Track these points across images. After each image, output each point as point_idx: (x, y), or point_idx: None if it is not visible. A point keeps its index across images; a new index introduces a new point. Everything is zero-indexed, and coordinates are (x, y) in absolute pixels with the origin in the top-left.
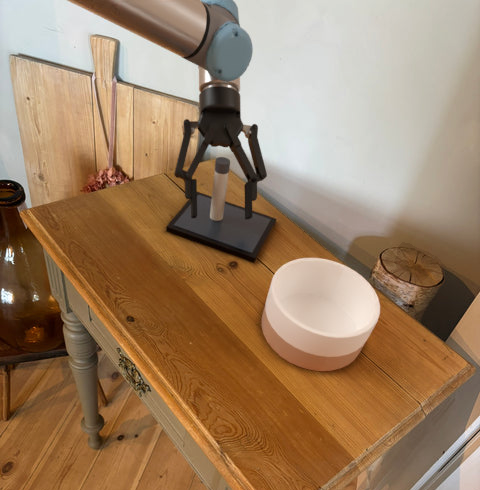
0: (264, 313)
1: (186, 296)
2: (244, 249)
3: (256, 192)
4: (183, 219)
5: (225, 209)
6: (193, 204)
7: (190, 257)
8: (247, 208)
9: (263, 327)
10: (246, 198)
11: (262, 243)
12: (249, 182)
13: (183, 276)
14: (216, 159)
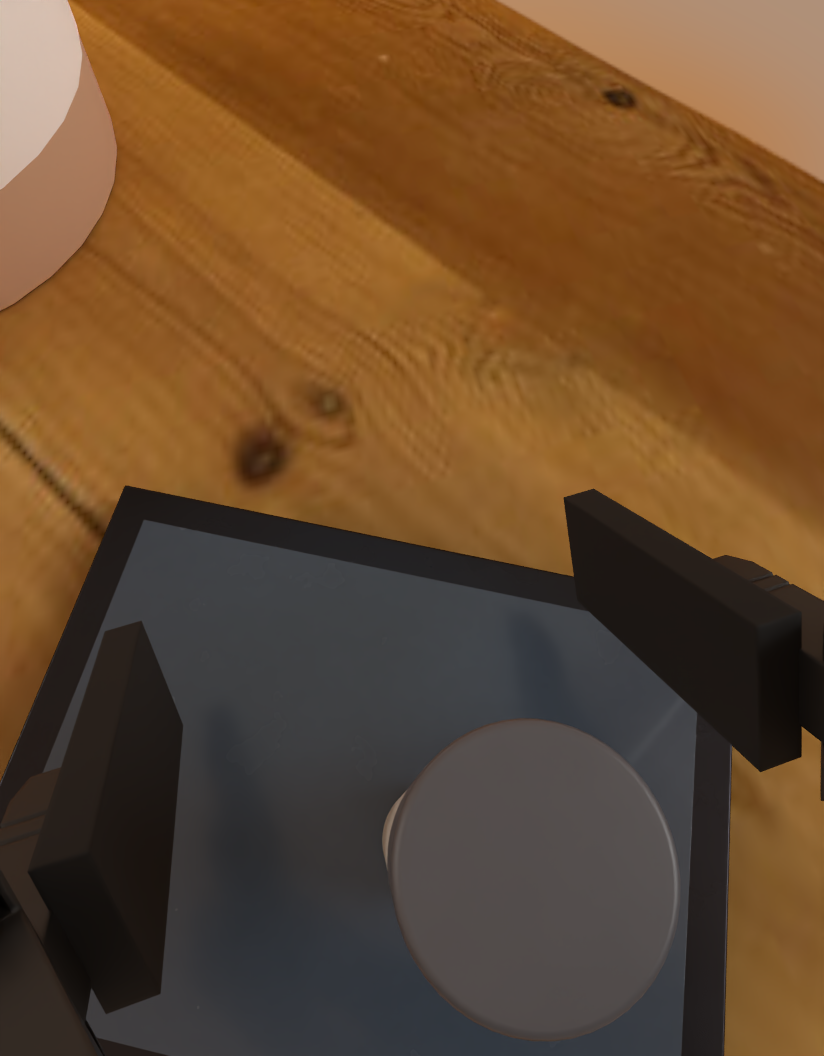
0: (91, 87)
1: (453, 222)
2: (194, 537)
3: (4, 835)
4: (661, 719)
5: (378, 1000)
6: (635, 517)
7: (505, 448)
8: (144, 691)
9: (106, 111)
10: (146, 784)
11: (64, 638)
12: (69, 847)
13: (500, 319)
14: (664, 854)
